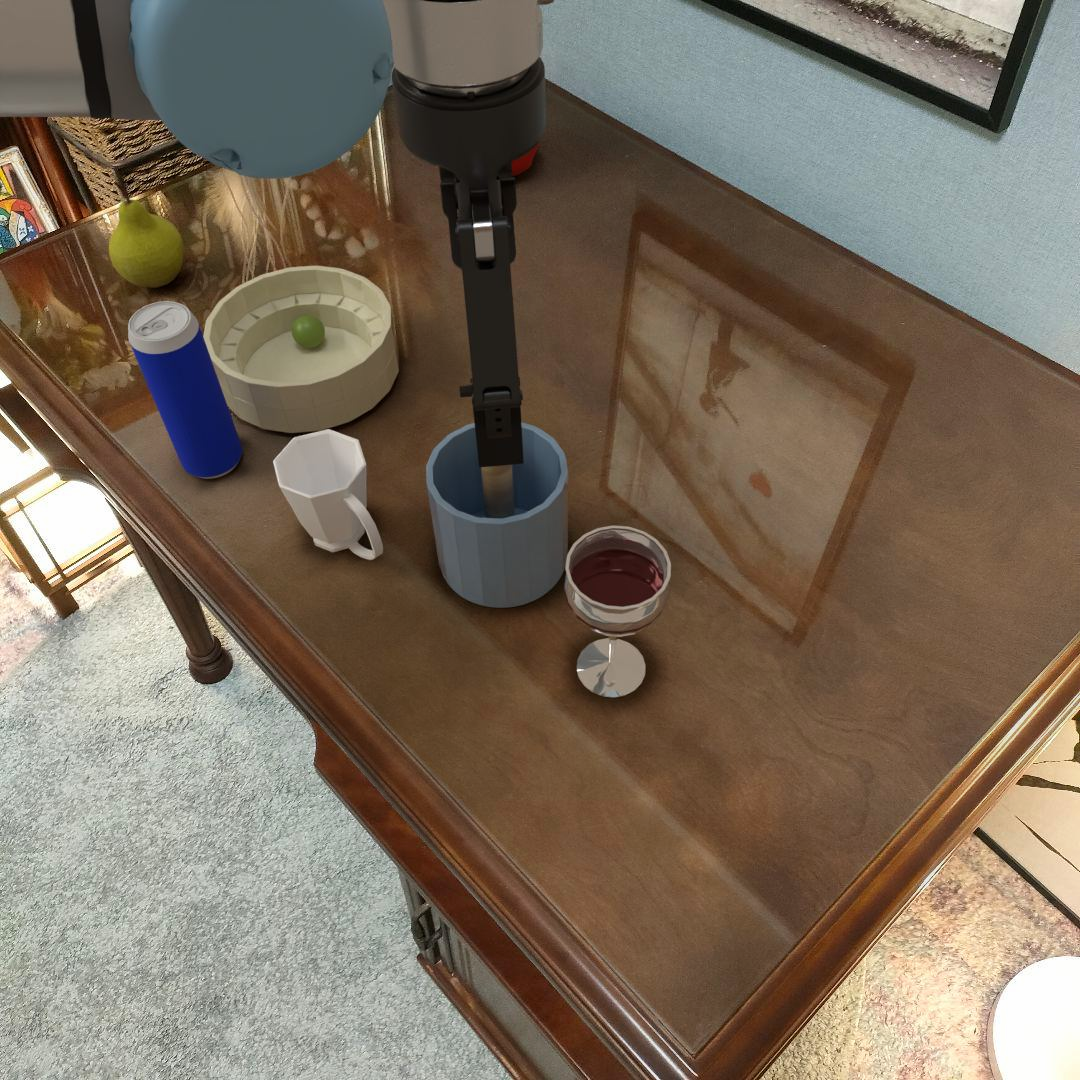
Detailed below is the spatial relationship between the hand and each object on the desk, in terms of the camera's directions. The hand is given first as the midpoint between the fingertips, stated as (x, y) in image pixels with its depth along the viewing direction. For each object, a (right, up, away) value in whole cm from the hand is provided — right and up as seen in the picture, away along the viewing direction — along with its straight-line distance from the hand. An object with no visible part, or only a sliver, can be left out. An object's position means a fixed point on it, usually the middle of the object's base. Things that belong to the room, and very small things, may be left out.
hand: (493, 385), depth 66 cm
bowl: (-18, +5, +28) cm, 33 cm away
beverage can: (-25, -3, +21) cm, 33 cm away
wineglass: (+8, -19, +8) cm, 22 cm away
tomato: (-2, +32, +49) cm, 59 cm away
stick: (0, -11, +13) cm, 17 cm away
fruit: (-35, +16, +37) cm, 54 cm away
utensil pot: (0, -11, +14) cm, 18 cm away
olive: (-18, +9, +28) cm, 35 cm away
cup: (-12, -10, +15) cm, 22 cm away
